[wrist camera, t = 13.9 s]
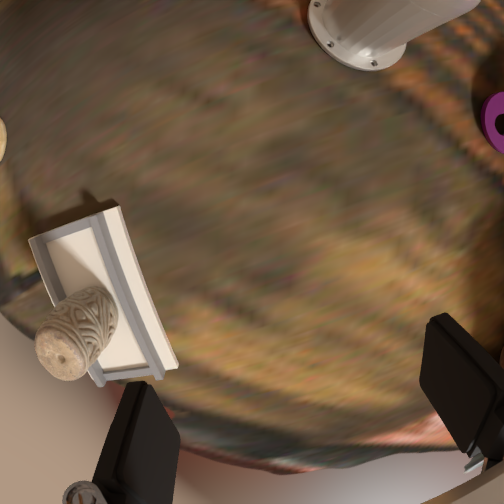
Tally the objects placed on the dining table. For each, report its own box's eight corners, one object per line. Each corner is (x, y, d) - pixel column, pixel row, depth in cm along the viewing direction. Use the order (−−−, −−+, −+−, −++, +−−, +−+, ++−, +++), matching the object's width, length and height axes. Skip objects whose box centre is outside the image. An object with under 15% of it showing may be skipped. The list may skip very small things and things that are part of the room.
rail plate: (31, 237, 34) (19, 243, 31) (119, 205, 33) (110, 210, 31) (94, 375, 40) (88, 388, 37) (178, 363, 40) (175, 377, 37)
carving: (101, 270, 35) (55, 318, 23) (132, 322, 37) (102, 383, 25) (65, 289, 35) (17, 337, 24) (96, 337, 37) (61, 394, 26)
